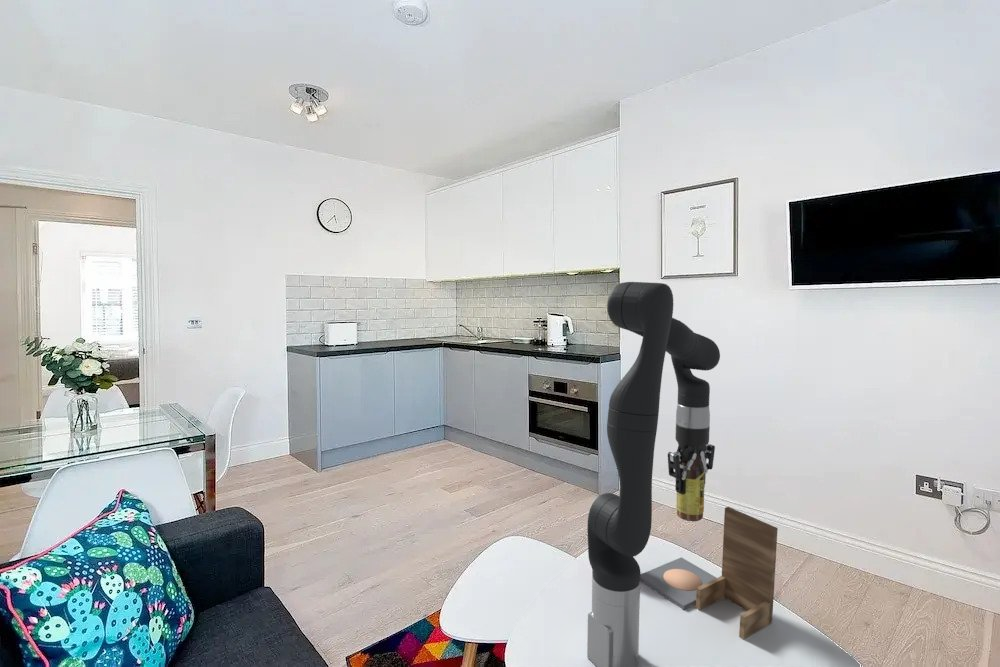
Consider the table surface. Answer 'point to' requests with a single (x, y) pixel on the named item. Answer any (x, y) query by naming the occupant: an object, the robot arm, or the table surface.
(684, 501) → the sauce bottle
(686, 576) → the mat
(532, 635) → the table surface
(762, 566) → the shelf nook
